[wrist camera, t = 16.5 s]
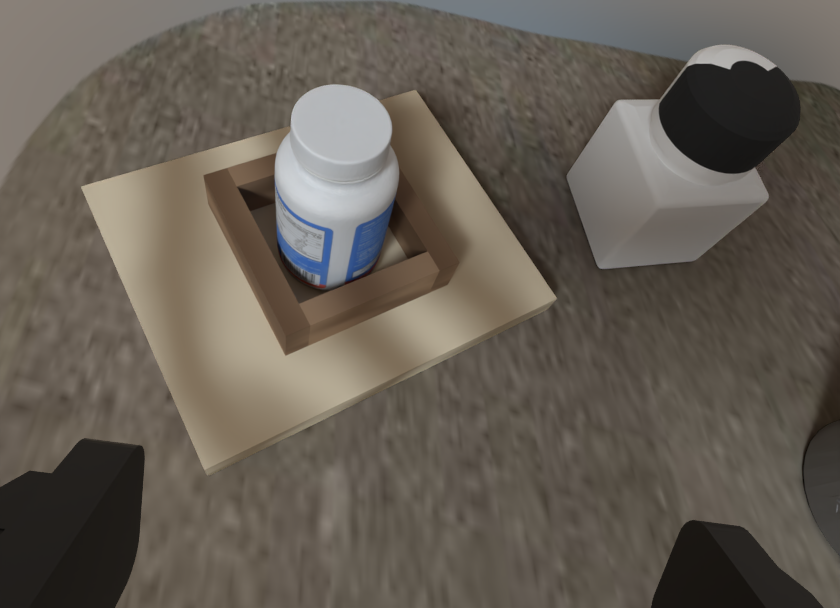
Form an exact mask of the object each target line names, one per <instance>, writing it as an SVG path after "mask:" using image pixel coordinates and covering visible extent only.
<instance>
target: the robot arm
mask: <svg viewBox="0 0 840 608" xmlns="http://www.w3.org/2000/svg"><path fill="white" fill-rule="evenodd" d="M144 460H145V456H144V449H143V447H142V446H140V445H133V444H125V443H117V442H110V441H102V440H95V439H87V438H84V439H82V440H80V441H79V442H78V443H77V444H76V445H75V446H74V448H73V449H72V450H71V451H70V452H69V454H68V455H67V456H66V457H65V458H64V460H63V461H62V462H61V463H60V464H59V466H58V467H57V468H56V469H55V470H54V472H53V473H44V472H36V471H28V472H27V473H25V474H23V475H21V476H19V477H18V478H16V479H14V480H12V481H11V482H9V483H7V484H5V485H3V486H2V487H0V608H115V606H116V604H117V602H118V600H119V598H120V596H121V594H122V592H123V590H124V588H125V586H126V584H127V582H128V579H129V577H130V574H131V571H132V568H133V565H134V561H135V557H136V553H137V548H138V542H139V533H140V519H141V505H142V490H143V476H144ZM804 484H805V491H806V495H807V498H808V502H809V506H810V509H811V511H812V513H813V516H814V518H815V520H816V522H817V525H818V527H819V528H820V530H821V531H822V533H823V535H824V536H825V538H826V539H827V541H828V543H829V544H830V545H831V546H832V548H833V549H834V550H835V551H836V552H837V553H838V555H839V556H840V420H839V421H836V422H833V423H830V424H828V425H826V426H825V427H824V428H822V429H821V430H820V431H818V432H817V434H816V435H815V436H814V438H813V439H812V440H811V442H810V444H809V447H808V450H807V452H806V455H805V463H804ZM651 608H823V607H822V605H821V604H820V603H819V602H818V601H817V600H816V598H815V597H814V596H813V595H812V594H811V593H810V592H809V591H808V590H806V589H805V588H804V587H803V586H801V585H800V584H799V583H798V582H796V581H795V580H794V579H792V578H791V577H790V576H789V575H787V574H786V573H785V572H784V571H782V570H781V569H780V568H779V567H778V566H777V565H776V564H775V563H774V561H773V560H772V559H771V558H770V557H769V555H768V554H767V553H766V552H765V551H764V549H763V548H762V547H761V546H760V545H759V543H758V542H757V541H756V540H755V539H754V537H753V536H752V535H751V534H750V533H749V532H748V531H747V530H746V529H744V528H743V527H740V526H734V525H726V524H719V523H711V522H704V521H696V520H692V521H689V522H687V523H686V524H685V525H684V526H683V527H682V528H681V530H680V532H679V535H678V537H677V540H676V542H675V545H674V547H673V550H672V552H671V555H670V557H669V560H668V562H667V565H666V567H665V570H664V572H663V575H662V577H661V579H660V582H659V584H658V587H657V589H656V592H655V594H654V597H653V601H652V606H651Z"/></svg>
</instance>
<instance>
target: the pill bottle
mask: <svg viewBox="0 0 840 608" xmlns="http://www.w3.org/2000/svg"><path fill="white" fill-rule="evenodd" d="M391 137H392V122H391V119H390V116H389V114H388V112H387V110H386V109H385V107H384V106H383V105H382V104H381V103H380V102H379V101H378V100H377V99H376V98H375V97H373V96H372V95H371V94H369V93H367V92H365V91H363V90H361V89H359V88H356V87H352V86H347V85H337V84H333V85H325V86H321V87H318V88H315V89H313V90H311V91H309V92H307V93H306V94H305V95H303V96H302V97H301V98H300V99H299V100H298V102H297V103H296V104H295V106H294V108H293V111H292V116H291V130H290V132H289V133H288V134H287V135H286V137H285V138H284V139H283V141H282V143H281V144H280V146H279V148H278V151H277V154H276V159H275V200H276V222H277V247H278V252H279V256H280V259H281V261H282V263H283V265H284V266H285V268H286V269H287V270H288V272H289V273H290V274H291V275H292V276H293V277H294V278H296V279H297V280H298V281H300V282H302V283H303V284H305V285H308V286H310V287H312V288H316V289H320V290H327V291H332V290H334V289H337V288H339V287H341V286H344V285H346V284H349V283H351V282H354V281H356V280H359V279H361V278H364V277H366V276H368V275H370V274H371V272H372V271H373V270H374V268H375V266H376V264H377V262H378V260H379V257H380V254H381V250H382V246H383V243H384V239H385V235H386V231H387V227H388V224H389V220H390V216H391V212H392V208H393V204H394V200H395V196H396V192H397V188H398V183H399V165H398V161H397V157H396V155H395V152H394V150H393V149H392V147H391V145H390V142H391Z"/></svg>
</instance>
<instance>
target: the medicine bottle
mask: <svg viewBox="0 0 840 608" xmlns="http://www.w3.org/2000/svg"><path fill="white" fill-rule="evenodd" d="M799 120H800V100H799V97H798V94H797V92H796V89H795V88H794V86H793V84H792V83H791V81H790V80H789V78H788V77H787V76H786V75H785V74H784V73H783V72H782V71H781V70H780V69H779V68H778V67H777V66H776V65H775V64H773V63H772V62H771V61H769V60H768V59H766V58H765V57H763V56H761V55H760V54H758V53H756V52H754V51H751V50H749V49H746V48H743V47H739V46H734V45H716V46H711V47H707V48H704V49H701V50H699V51H698V52H696V53H695V54H694V55H693V56H692V57H691V58H690V60H689V61H688V62H687V64H686V65H685V66H684V68H683V69H682V70H681V72H680V73H679V74H678V76H677V77H676V78H675V80H674V81H673V82H672V84H671V85H670V86H669V88H668V89H667V90H666V92H665V93H664V94H663V96H662V97H661V98H660V99H650V100H617V101H616V102H615V103H614V105H613V106H612V108H611V109H610V111H609V112H608V114H607V115H606V117H605V118H604V120H603V121H602V123H601V124H600V126H599V127H598V129H597V130H596V132H595V133H594V135H593V136H592V138H591V139H590V141H589V142H588V144H587V145H586V147H585V148H584V150H583V151H582V153H581V154H580V156H579V157H578V159H577V160H576V162H575V163H574V165H573V166H572V168H571V169H570V171H569V172H568V174H567V176H566V177H567V181H568V184H569V187H570V190H571V193H572V196H573V198H574V201H575V204H576V207H577V210H578V213H579V216H580V218H581V221H582V224H583V227H584V230H585V233H586V236H587V238H588V241H589V244H590V247H591V250H592V253H593V256H594V259H595V261H596V264H597V266H598V267H599V268H600V269H611V268H622V267H634V266H645V265H657V264H668V263H679V262H691V261H694V260H697V259H698V258H699V257H700V256H701V255H703V254H704V253H705V252H706V251H708V250H709V249H710V248H711V247H712V246H714V245H715V244H716V243H717V242H718V241H720V240H721V239H722V238H723V237H724V236H726V235H727V234H728V233H729V232H730V231H732V230H733V229H734V228H735V227H737V226H738V225H739V224H740V223H741V222H743V221H744V220H745V219H746V218H747V217H749V216H750V215H751V214H752V213H753V212H755V211H756V210H757V209H758V208H759V207H761V206H762V205H763V204H764V203H765V202H767V200H768V198H769V195H768V192H767V190H766V188H765V186H764V184H763V182H762V180H761V178H760V176H759V174H758V172H757V170H756V168H755V167H756V166H757V165H758V164H759V163H760V162H761V161H763V160H764V159H765V158H766V157H767V156H768V155H769V154H770V153H771V152H772V151H773V150H775V149H776V148H777V147H778V146H779V145H780V144H781V143H782V142H783V141H784V140H785V139H786V138H788V137H789V136H790V135H791V134H792V133H793V132H794V131H795V130H796V128H797V126H798V124H799Z"/></svg>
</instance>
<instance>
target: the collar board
mask: <svg viewBox="0 0 840 608" xmlns="http://www.w3.org/2000/svg"><path fill="white" fill-rule="evenodd" d="M379 102H380V103H381V104H382V105H383V106H384V107H385V109H386V110H387V112H388V114H389V116H390V119H391V122H392V137H391V142H390V145H391V147H392V149H393V150H394V152H395V155H396V157H397V161H398V165H399V183H398V188H397V192H396V196H395V200H394V204H393V208H392V212H391V216H390V220H389V224H388V227H387V231H386V235H385V239H384V243H383V246H382V250H381V254H380V257H379V260H378V262H377V264H376V266H375V268H374V270H373V271H372V272H371V274H370V275H368V276H366V277H364V278H361V279H359V280H356V281H354V282H351V283H349V284H346V285H344V286H341V287H339V288H337V289H334V290H332V291H327V290H320V289H316V288H312V287H310V286H308V285H305V284H303V283H302V282H300V281H298V280H297V279H296V278H294V277H293V276H292V275H291V274H290V273H289V272H288V270H287V269H286V268H285V266H284V265H283V263H282V261H281V259H280V256H279V252H278V247H277V222H276V200H275V159H276V154H277V151H278V148H279V146H280V144H281V143H282V141H283V139H284V138H285V137H286V135H287V134H288V133H289V132H290V130H291V126H289V127H285V128H282V129H278V130H275V131H271V132H268V133H265V134H261V135H258V136H254V137H251V138H247V139H244V140H240V141H237V142H233V143H230V144H227V145H223V146H220V147H216V148H213V149H209V150H206V151H202V152H199V153H195V154H192V155H189V156H185V157H182V158H178V159H175V160H171V161H168V162H164V163H161V164H157V165H154V166H151V167H147V168H144V169H140V170H137V171H133V172H130V173H126V174H123V175H119V176H116V177H112V178H109V179H106V180H102V181H99V182H95V183H92V184H88V185H85V186H81V188H82V191H83V193H84V195H85V197H86V200H87V202H88V204H89V207H90V209H91V211H92V213H93V216H94V218H95V220H96V223H97V225H98V227H99V229H100V232H101V234H102V236H103V239H104V241H105V243H106V246H107V248H108V250H109V252H110V255H111V257H112V259H113V262H114V264H115V266H116V268H117V271H118V273H119V275H120V278H121V280H122V282H123V284H124V287H125V289H126V291H127V294H128V296H129V298H130V301H131V303H132V305H133V307H134V310H135V312H136V314H137V317H138V319H139V321H140V323H141V326H142V328H143V330H144V333H145V335H146V337H147V339H148V342H149V344H150V346H151V349H152V351H153V353H154V356H155V358H156V360H157V362H158V365H159V367H160V369H161V372H162V374H163V376H164V378H165V381H166V383H167V385H168V388H169V390H170V392H171V394H172V397H173V399H174V401H175V404H176V406H177V408H178V411H179V413H180V415H181V417H182V420H183V422H184V424H185V427H186V429H187V431H188V433H189V436H190V438H191V440H192V443H193V445H194V447H195V449H196V452H197V454H198V456H199V459H200V461H201V463H202V466H203V468H204V470H205V472H206V474H207V476H210V475H212V474H214V473H216V472H218V471H220V470H222V469H224V468H226V467H228V466H230V465H232V464H234V463H236V462H238V461H240V460H242V459H244V458H246V457H249V456H251V455H253V454H255V453H257V452H259V451H261V450H263V449H265V448H267V447H269V446H271V445H273V444H275V443H277V442H279V441H281V440H283V439H285V438H287V437H289V436H291V435H293V434H295V433H297V432H299V431H301V430H303V429H305V428H308V427H310V426H312V425H314V424H316V423H318V422H320V421H322V420H324V419H326V418H328V417H330V416H332V415H334V414H336V413H338V412H340V411H342V410H344V409H346V408H348V407H350V406H352V405H354V404H356V403H358V402H360V401H362V400H364V399H367V398H369V397H371V396H373V395H375V394H377V393H379V392H381V391H383V390H385V389H387V388H389V387H391V386H393V385H395V384H397V383H399V382H401V381H403V380H405V379H407V378H409V377H411V376H413V375H415V374H417V373H419V372H421V371H423V370H425V369H428V368H430V367H432V366H434V365H436V364H438V363H440V362H442V361H444V360H446V359H448V358H450V357H452V356H454V355H456V354H458V353H460V352H462V351H464V350H466V349H468V348H470V347H472V346H474V345H476V344H478V343H480V342H482V341H484V340H487V339H489V338H491V337H493V336H495V335H497V334H499V333H501V332H503V331H505V330H507V329H509V328H511V327H513V326H515V325H517V324H519V323H521V322H523V321H525V320H527V319H529V318H531V317H533V316H535V315H537V314H539V313H541V312H543V311H546V310H547V309H548V308H549V307H550V306H551V305H552V304H553V302H554V301H555V300H556V299H557V298H556V296H555V295H554V293H553V292H552V290H551V289H550V287H549V286H548V284H547V283H546V281H545V280H544V278H543V277H542V275H541V274H540V273H539V271H538V270H537V268H536V267H535V265H534V264H533V262H532V261H531V259H530V258H529V256H528V255H527V253H526V252H525V250H524V249H523V247H522V246H521V244H520V243H519V241H518V240H517V239H516V237H515V236H514V234H513V233H512V231H511V230H510V228H509V227H508V225H507V224H506V222H505V221H504V219H503V218H502V216H501V215H500V213H499V212H498V210H497V209H496V208H495V206H494V205H493V203H492V202H491V200H490V199H489V197H488V196H487V194H486V193H485V191H484V190H483V188H482V187H481V185H480V184H479V182H478V181H477V179H476V178H475V176H474V175H473V174H472V172H471V171H470V169H469V168H468V166H467V165H466V163H465V162H464V160H463V159H462V157H461V156H460V154H459V153H458V151H457V150H456V148H455V147H454V145H453V144H452V143H451V141H450V140H449V138H448V137H447V135H446V134H445V132H444V131H443V129H442V128H441V126H440V125H439V123H438V122H437V120H436V119H435V117H434V116H433V114H432V113H431V111H430V110H429V109H428V107H427V106H426V104H425V103H424V101H423V100H422V98H421V97H420V95H419V94H418V92H417V91H416V90H413V91H410V92H406V93H403V94H399V95H396V96H392V97H389V98H386V99H382V100H379Z"/></svg>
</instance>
